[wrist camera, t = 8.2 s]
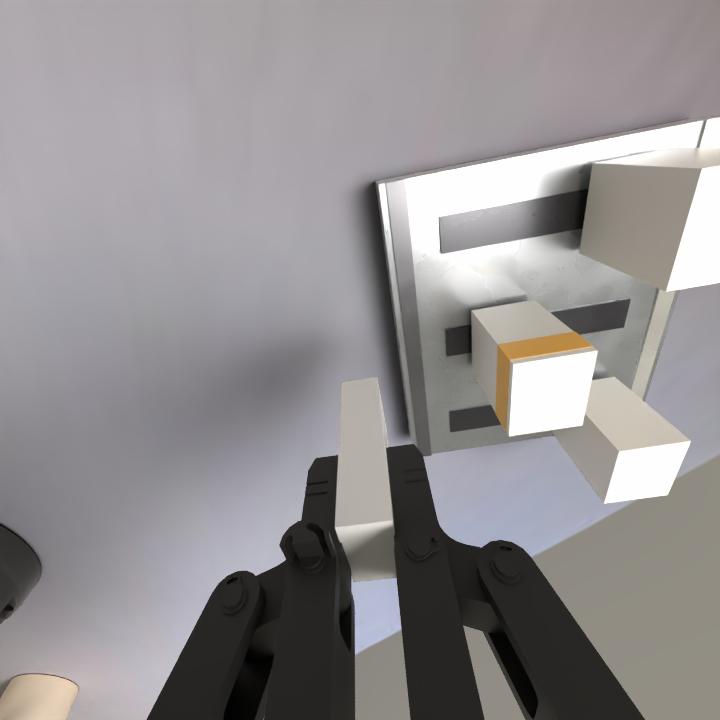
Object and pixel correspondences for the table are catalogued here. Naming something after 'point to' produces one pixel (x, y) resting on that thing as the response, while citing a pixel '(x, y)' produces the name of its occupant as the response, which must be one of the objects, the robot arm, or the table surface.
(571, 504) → the table surface
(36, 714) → the water bottle
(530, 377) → the block
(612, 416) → the breaker low
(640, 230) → the block
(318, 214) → the table surface
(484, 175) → the panel
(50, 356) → the table surface
